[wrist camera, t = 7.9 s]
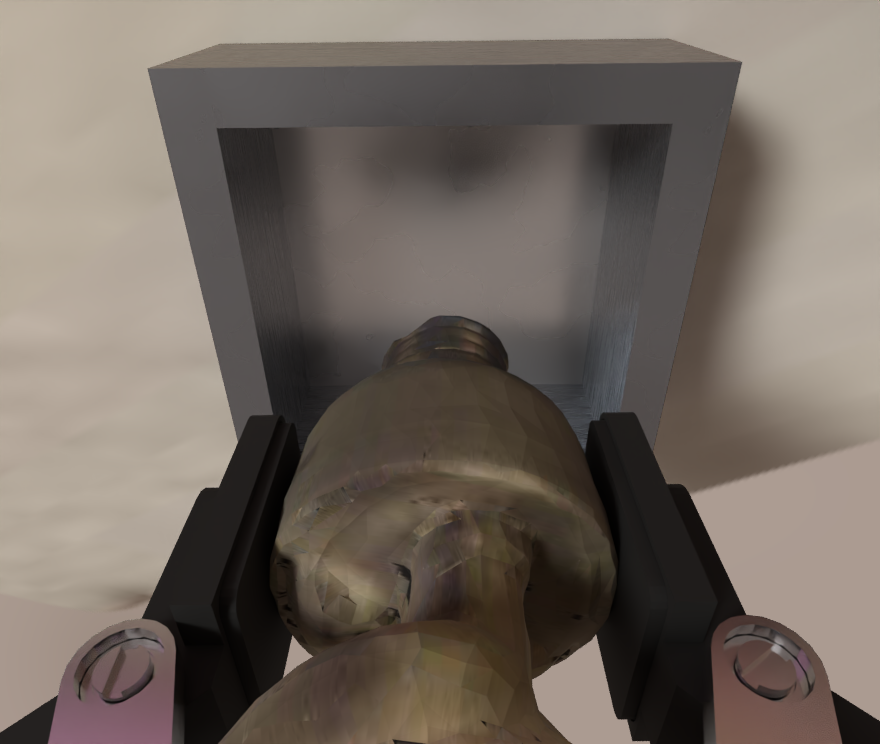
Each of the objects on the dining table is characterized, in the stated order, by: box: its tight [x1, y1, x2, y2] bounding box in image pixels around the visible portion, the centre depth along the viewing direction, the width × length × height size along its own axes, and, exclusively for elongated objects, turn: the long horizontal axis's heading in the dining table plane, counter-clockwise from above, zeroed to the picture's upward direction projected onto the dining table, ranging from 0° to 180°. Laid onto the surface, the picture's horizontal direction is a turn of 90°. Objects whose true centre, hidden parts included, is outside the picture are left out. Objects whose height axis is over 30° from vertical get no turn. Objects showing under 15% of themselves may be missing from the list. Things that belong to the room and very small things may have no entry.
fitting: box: [148, 39, 742, 455], centre depth 18 cm, size 12×12×5 cm
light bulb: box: [218, 315, 619, 744], centre depth 9 cm, size 6×6×15 cm
